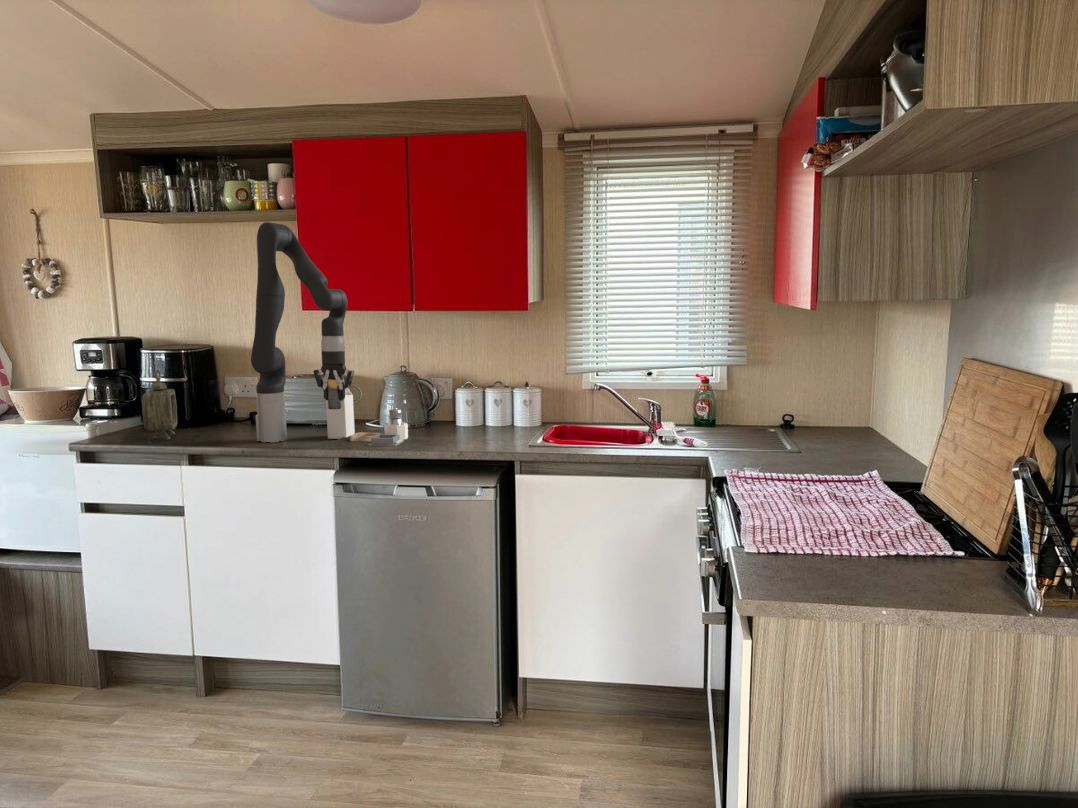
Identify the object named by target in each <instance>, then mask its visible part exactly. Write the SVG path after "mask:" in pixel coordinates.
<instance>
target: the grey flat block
mask: <svg viewBox="0 0 1078 808" xmlns="http://www.w3.org/2000/svg"><path fill="white" fill-rule="evenodd" d="M402 443H405V439H404V440H400V435H399V434H385V433H382V434H378V435H376V436H374V437H372V438H371V441H370V442H369V443H367V444H366V446H370V447H397V446H398V445H401V444H402Z"/></svg>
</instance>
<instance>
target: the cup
mask: <svg viewBox="0 0 1078 808" xmlns="http://www.w3.org/2000/svg"><path fill="white" fill-rule="evenodd" d="M383 426H384V434H399V435H400V440H404V441H405V440H407V439H408V438H409V430H408V428H409V426H408V423H407V422H403V421H402V425H397V426H390V423H389V422H388V423H384V425H383Z"/></svg>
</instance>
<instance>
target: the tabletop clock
mask: <svg viewBox="0 0 1078 808" xmlns="http://www.w3.org/2000/svg"><path fill="white" fill-rule="evenodd" d="M155 381H156V382H155V383H152V385H151V387H150V389H149V390H148V391H146V392H145V393H143V394H142V396H141V408H142V421H143V427H144V429H145V430H148V431H150V432H155V434H154V435H153V438H154V437H158V438H159V435H158V433H159V431H161V432H162V433H163V435H164V436H165V438H164V440H166V439H170V440H171V437H170V436H168V433H167V431H169V434H170V435H171V434H175V435H176V432H175V431H174V430H176V428H177V427H178V408H177V407H178V405H177V397H176V390H175V388H168V387H167V385H166V384H165V383H163V382H161V371H160V370H159V369H157V370H155Z"/></svg>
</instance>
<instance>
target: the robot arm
mask: <svg viewBox="0 0 1078 808" xmlns="http://www.w3.org/2000/svg"><path fill="white" fill-rule="evenodd" d="M256 252H257V253H256V255H257V282H256V284H257V286H256V298H255V321H254V325H255V326H254V336H253V341H252V343H253V344H252V347H251V348H252V349H251V354H250V355H251V356H250V364H251V366H252V369H253V370H254V371H255V373H258V374H259V379H258V382H257V383H256V386H255V389H256V407H257V414H255V430H256V442H257V441H261V443H266V442H270V443H278V442H279V441H281V442H284V441H286V440H288V433H287V431H288V430H287V418H286V415H287V414H286V401H285V397H286V396H285V384H286V378H287V377H286V358H285V354H284V352H283V351H282V349H280V348H279V347H277V346H276V337H277V332H278V328H279V326H280V323H281V320H282V317H283V314H284V312H285V311H284V309H285V302H286V301H285V300H286V299H285V298H286V291H285V290H286V289H285V287H284V283H283V281H282V278H281V276H280V274H279V271H278V268H277V259H276V258H277V252H281V253H283V254H284V255H286V256H287V257H288V258H289V259H290V261H291V262H292V264H293V269H294V272H295V275H296V276H297V277H298V279H299V281H300V282H301V283H302V284H303V285H304V286H305V287H306V289H308V291H309V293H310V296H311V297H312V299H313V301H314V304H315V306H316V307H318V308H319V309H320V310H322V311H328V312H329V313H328V316H327V317H325V318H322V320H321V325H320V326H321V341H320V343H321V344H320V345H321V346H320V347H321V364H322V365H321V368H318V369H314V370H313V372H312V373H313V376H314V378H315V379H314V380H315V381H316V382H315V383H316V385H317V387H318V388H320V389H321V388H322V389H323V390H322V391H323V399H324V400H325V401H326V400H328V390H327V382H328V379H336V381H337V383H338V385H339V388H340V390H339V401H343V400H344V399H345V389H346V388H351V385H352V384H353V383H352V382H353V378H354V374H355V370H353V369H352V370H351V369H348V368H347V367H346V353H345V352H346V351H345V350H346V345H345V338H344V337H345V335H344V322H345V318H346V312H347V308H348V298H347V295H346V293H345V292H344V290H342V289H339V288H327V286H328V285H329V284H328V282H329V281H328V279H327V277H326V276H325V275H324V273H323V272H322V271H321V270H320V269H319V268H318V267H317V266H316V264H315V263H314V262H313V261H312V259H310V256H308V254H307V252H306V251H305V249H304V248H303V246H302V244H301V243H300V241H299V239H298V238H297V236H296V235H295V233H294V232H293V231H292V229H291V228H290V227H289V226H288V225H285V224H282V223H278V222H277V223H275V222H270V221H265V222H263V223H262V224H260V226H259V227H258V229H257V233H256ZM344 374H345V376H346V379H344ZM322 375H324V379H323V377H322ZM340 379H341V380H340ZM279 443H280V442H279Z"/></svg>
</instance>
